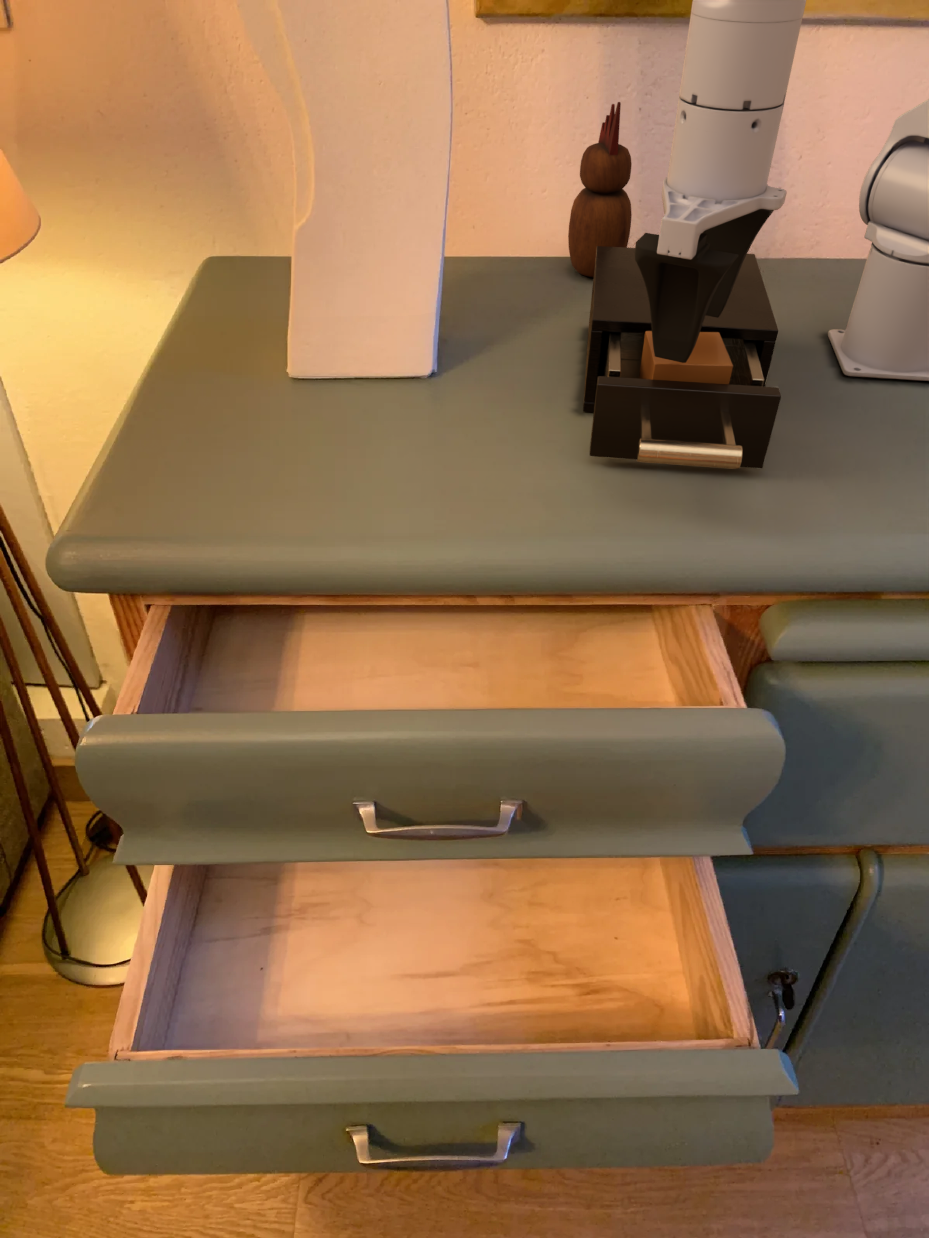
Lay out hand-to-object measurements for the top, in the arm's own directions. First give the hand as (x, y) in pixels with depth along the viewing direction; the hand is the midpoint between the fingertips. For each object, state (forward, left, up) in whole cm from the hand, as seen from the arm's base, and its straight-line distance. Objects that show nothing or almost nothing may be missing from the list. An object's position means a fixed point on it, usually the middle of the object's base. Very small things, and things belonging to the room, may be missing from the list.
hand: (688, 334), depth 58 cm
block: (0, 0, -6) cm, 6 cm away
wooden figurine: (+6, -31, -8) cm, 33 cm away
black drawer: (0, +1, -7) cm, 7 cm away
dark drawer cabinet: (0, -10, -8) cm, 13 cm away
